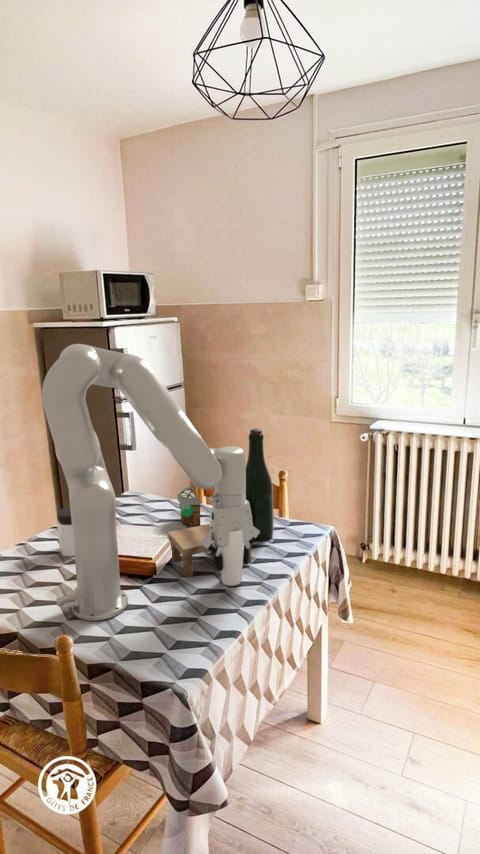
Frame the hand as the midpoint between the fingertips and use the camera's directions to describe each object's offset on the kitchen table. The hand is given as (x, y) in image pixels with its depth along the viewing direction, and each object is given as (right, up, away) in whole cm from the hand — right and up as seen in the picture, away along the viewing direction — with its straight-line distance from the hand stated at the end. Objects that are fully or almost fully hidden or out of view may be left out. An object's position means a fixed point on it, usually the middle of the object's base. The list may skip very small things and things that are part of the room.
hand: (231, 564), depth 132 cm
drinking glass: (0, -5, +1) cm, 5 cm away
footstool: (-6, -2, +12) cm, 14 cm away
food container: (-15, +3, +39) cm, 41 cm away
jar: (-45, -1, +19) cm, 49 cm away
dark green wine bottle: (+7, +1, +29) cm, 29 cm away
